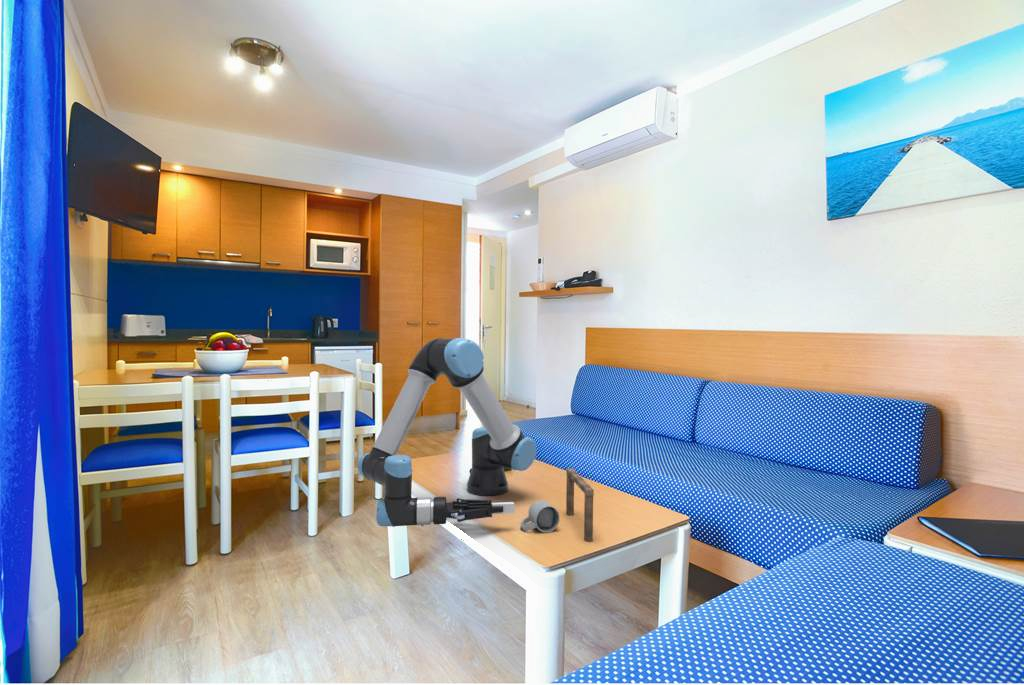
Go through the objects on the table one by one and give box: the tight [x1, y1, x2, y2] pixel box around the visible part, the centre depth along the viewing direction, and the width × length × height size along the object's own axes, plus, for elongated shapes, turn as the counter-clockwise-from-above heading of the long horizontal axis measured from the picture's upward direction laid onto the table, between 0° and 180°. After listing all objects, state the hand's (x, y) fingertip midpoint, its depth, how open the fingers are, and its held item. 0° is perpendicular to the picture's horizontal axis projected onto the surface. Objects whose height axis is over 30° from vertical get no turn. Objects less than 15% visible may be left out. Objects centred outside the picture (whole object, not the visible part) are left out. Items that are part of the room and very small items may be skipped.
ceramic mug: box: [520, 500, 560, 533], centre depth 145 cm, size 11×8×8 cm
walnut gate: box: [565, 467, 595, 543], centre depth 146 cm, size 22×2×14 cm, turn 8°
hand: (513, 507), depth 143 cm, fingers closed
